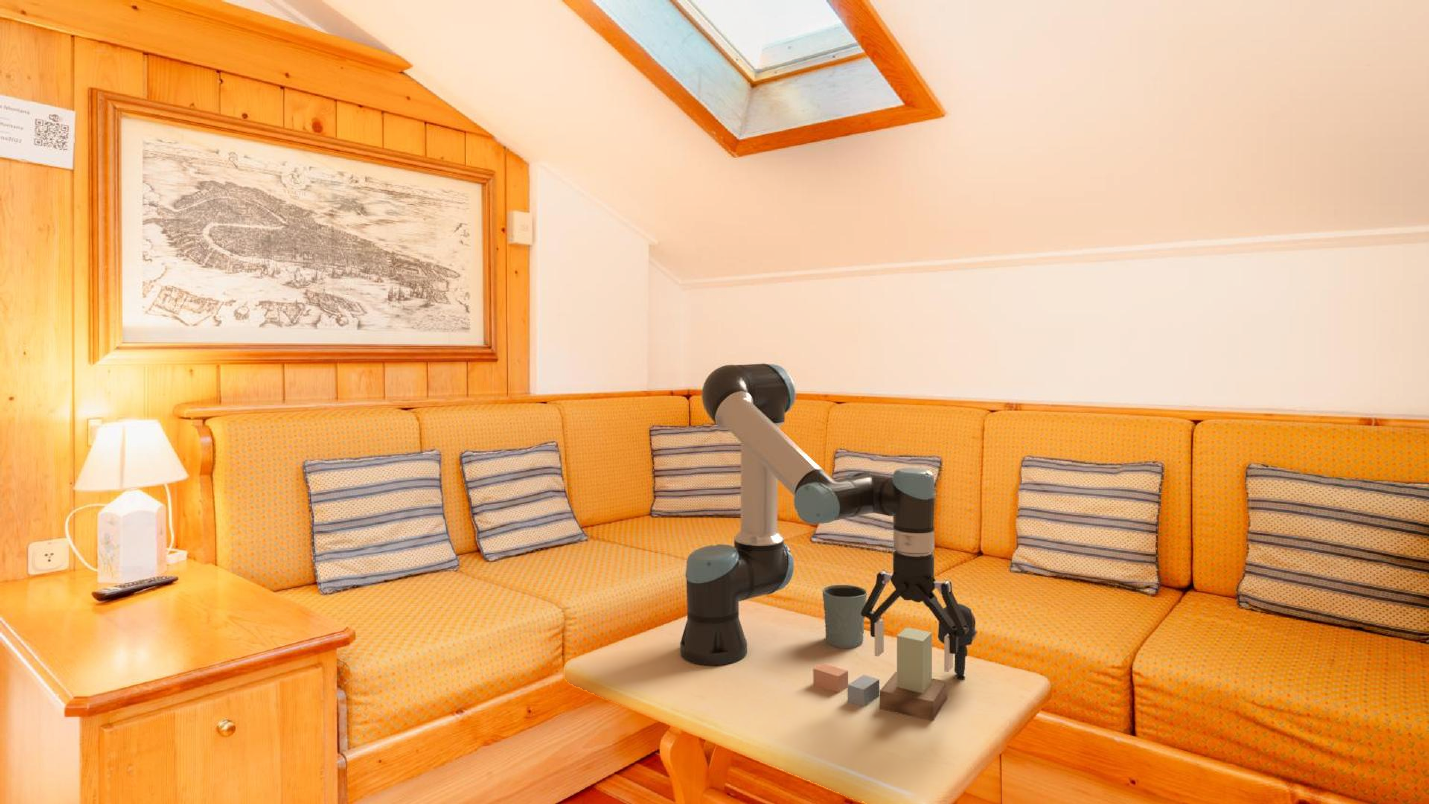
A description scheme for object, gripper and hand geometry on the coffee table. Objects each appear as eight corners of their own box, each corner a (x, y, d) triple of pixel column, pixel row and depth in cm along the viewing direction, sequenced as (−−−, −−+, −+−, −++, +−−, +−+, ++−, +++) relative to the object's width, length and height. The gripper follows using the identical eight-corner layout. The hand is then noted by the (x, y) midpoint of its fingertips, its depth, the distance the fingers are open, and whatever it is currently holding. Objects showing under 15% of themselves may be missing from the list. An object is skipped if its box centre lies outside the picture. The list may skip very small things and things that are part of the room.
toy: (980, 686, 155) (980, 612, 155) (939, 684, 157) (939, 610, 156) (974, 668, 164) (974, 598, 163) (936, 666, 166) (936, 597, 165)
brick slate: (863, 707, 148) (863, 689, 147) (847, 702, 150) (847, 684, 150) (879, 696, 152) (879, 679, 152) (863, 692, 154) (863, 674, 154)
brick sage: (896, 687, 148) (896, 635, 147) (906, 677, 152) (906, 627, 151) (922, 693, 145) (922, 641, 144) (931, 683, 149) (932, 632, 148)
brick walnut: (879, 711, 147) (879, 690, 146) (896, 691, 155) (895, 671, 155) (933, 723, 142) (933, 701, 141) (946, 701, 150) (946, 681, 150)
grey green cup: (816, 644, 180) (815, 593, 179) (833, 630, 188) (832, 581, 188) (857, 652, 175) (857, 599, 174) (873, 638, 183) (873, 587, 182)
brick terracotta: (813, 685, 158) (813, 668, 158) (823, 679, 160) (822, 663, 160) (838, 693, 154) (838, 676, 154) (848, 687, 157) (848, 670, 156)
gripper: (844, 546, 151) (844, 654, 152) (974, 565, 137) (973, 683, 138) (860, 538, 157) (860, 641, 158) (986, 556, 143) (985, 669, 144)
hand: (912, 661), depth 148 cm, fingers open, 13 cm apart
